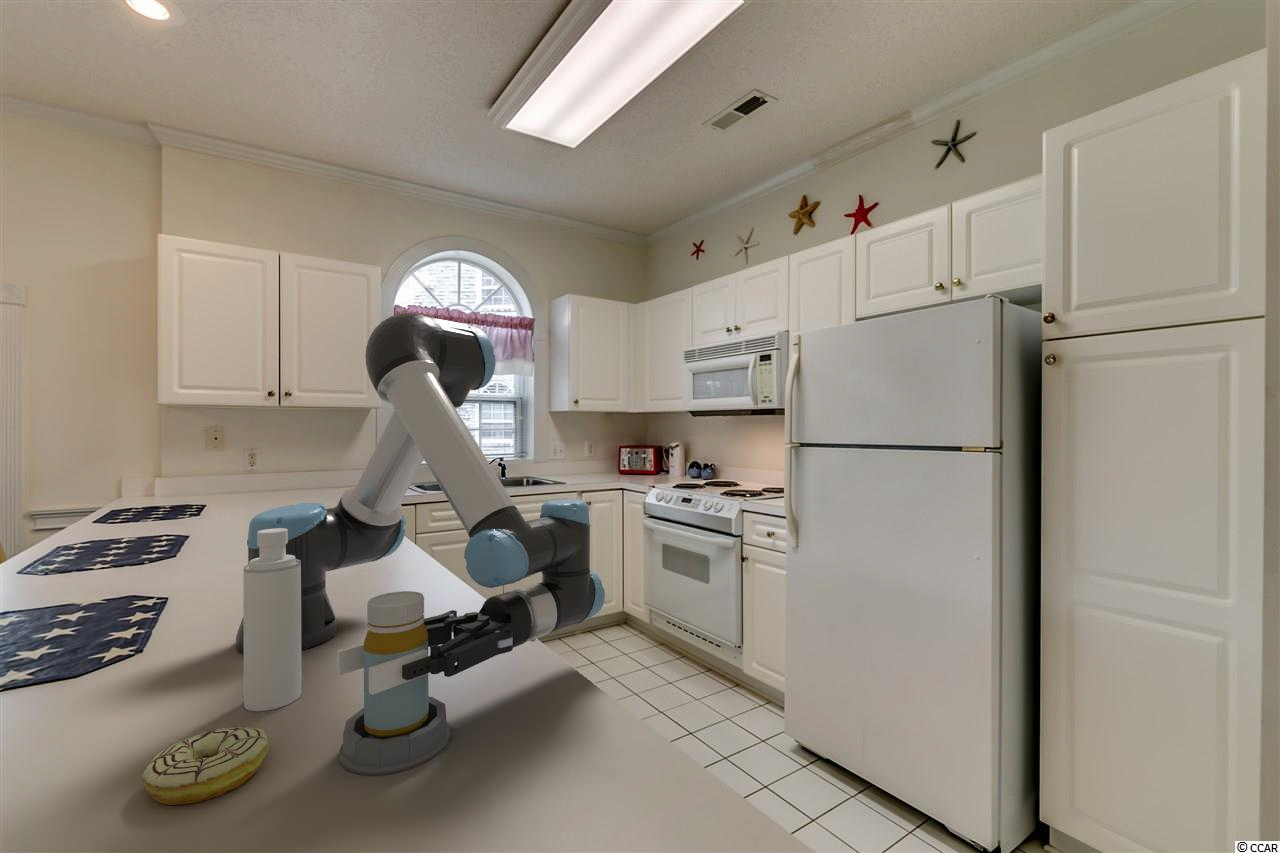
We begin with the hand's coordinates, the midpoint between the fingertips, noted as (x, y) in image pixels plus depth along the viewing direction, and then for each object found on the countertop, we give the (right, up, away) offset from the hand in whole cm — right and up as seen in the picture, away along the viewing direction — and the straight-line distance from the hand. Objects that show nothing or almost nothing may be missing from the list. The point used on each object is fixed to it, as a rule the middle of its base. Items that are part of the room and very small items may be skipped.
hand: (354, 671), depth 63 cm
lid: (+3, -10, +4) cm, 11 cm away
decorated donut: (-14, -11, -2) cm, 18 cm away
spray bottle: (-19, -11, +15) cm, 26 cm away
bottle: (+3, -8, +4) cm, 10 cm away
